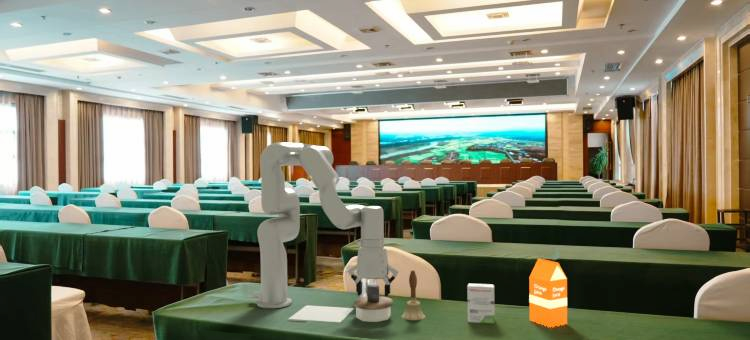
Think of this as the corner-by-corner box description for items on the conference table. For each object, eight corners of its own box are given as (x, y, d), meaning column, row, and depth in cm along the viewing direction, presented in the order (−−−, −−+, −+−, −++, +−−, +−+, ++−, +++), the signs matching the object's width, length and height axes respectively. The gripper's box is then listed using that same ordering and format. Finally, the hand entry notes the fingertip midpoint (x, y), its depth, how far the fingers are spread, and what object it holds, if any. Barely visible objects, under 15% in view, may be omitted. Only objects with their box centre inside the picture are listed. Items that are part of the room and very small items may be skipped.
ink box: (494, 319, 169) (494, 283, 169) (494, 324, 165) (494, 287, 164) (468, 317, 171) (468, 282, 171) (467, 322, 167) (467, 286, 166)
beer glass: (378, 299, 195) (377, 260, 195) (376, 304, 188) (375, 263, 188) (359, 299, 196) (359, 259, 195) (357, 304, 189) (356, 263, 188)
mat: (288, 320, 170) (288, 318, 170) (306, 307, 186) (306, 305, 186) (340, 324, 166) (340, 322, 166) (354, 309, 182) (354, 308, 182)
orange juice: (549, 328, 160) (549, 264, 160) (529, 320, 168) (528, 259, 167) (567, 324, 164) (567, 261, 163) (546, 316, 171) (546, 256, 171)
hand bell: (427, 321, 168) (427, 273, 167) (402, 322, 167) (402, 273, 167) (423, 314, 176) (423, 267, 175) (399, 315, 175) (399, 268, 175)
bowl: (353, 322, 168) (353, 307, 168) (362, 313, 178) (362, 298, 178) (385, 325, 165) (385, 309, 165) (392, 315, 176) (392, 300, 175)
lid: (348, 308, 167) (348, 289, 167) (360, 297, 179) (359, 280, 179) (387, 310, 164) (387, 292, 163) (396, 300, 176) (396, 282, 176)
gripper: (344, 244, 170) (345, 296, 170) (395, 246, 165) (396, 299, 166) (350, 241, 177) (351, 291, 177) (400, 242, 173) (401, 293, 173)
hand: (373, 295), depth 171 cm, fingers open, 8 cm apart
